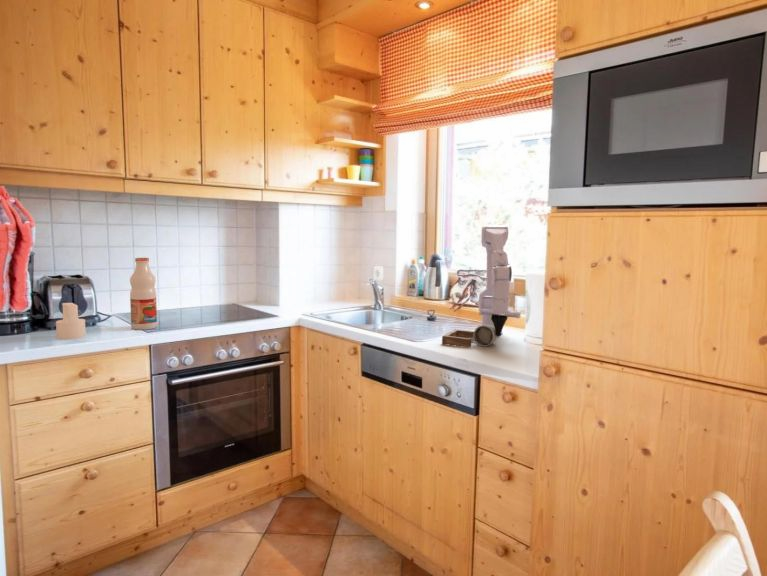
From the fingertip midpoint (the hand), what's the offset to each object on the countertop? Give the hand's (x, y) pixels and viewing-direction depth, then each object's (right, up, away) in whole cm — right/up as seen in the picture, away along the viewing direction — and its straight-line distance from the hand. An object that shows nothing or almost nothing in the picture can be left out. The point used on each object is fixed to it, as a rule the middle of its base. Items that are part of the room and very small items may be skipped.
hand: (498, 335), depth 184 cm
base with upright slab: (-155, -1, 0) cm, 155 cm away
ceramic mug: (-5, -4, +3) cm, 7 cm away
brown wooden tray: (-12, -3, +6) cm, 13 cm away
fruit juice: (-138, +1, +19) cm, 139 cm away
